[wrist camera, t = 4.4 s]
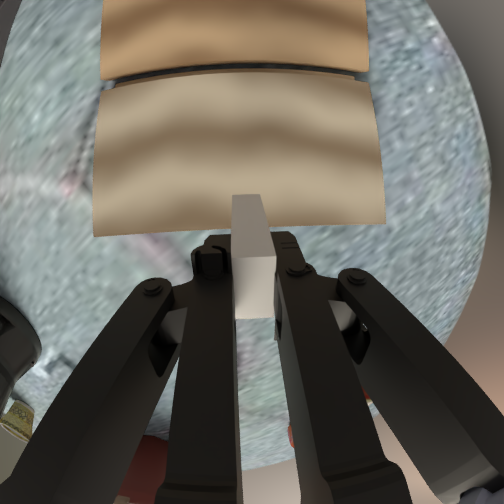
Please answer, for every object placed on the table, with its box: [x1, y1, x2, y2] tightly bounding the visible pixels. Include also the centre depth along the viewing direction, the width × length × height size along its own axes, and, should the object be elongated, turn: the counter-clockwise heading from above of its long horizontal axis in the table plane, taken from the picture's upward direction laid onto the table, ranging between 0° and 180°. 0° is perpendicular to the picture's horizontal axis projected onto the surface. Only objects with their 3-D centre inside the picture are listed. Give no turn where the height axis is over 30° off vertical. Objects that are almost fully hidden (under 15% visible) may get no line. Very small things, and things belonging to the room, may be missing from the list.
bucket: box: [113, 435, 168, 504], centre depth 43 cm, size 24×22×25 cm
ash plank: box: [93, 68, 386, 237], centre depth 20 cm, size 13×22×2 cm, turn 91°
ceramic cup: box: [0, 400, 34, 443], centre depth 43 cm, size 13×10×10 cm
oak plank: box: [100, 0, 369, 81], centre depth 16 cm, size 10×22×2 cm, turn 91°
